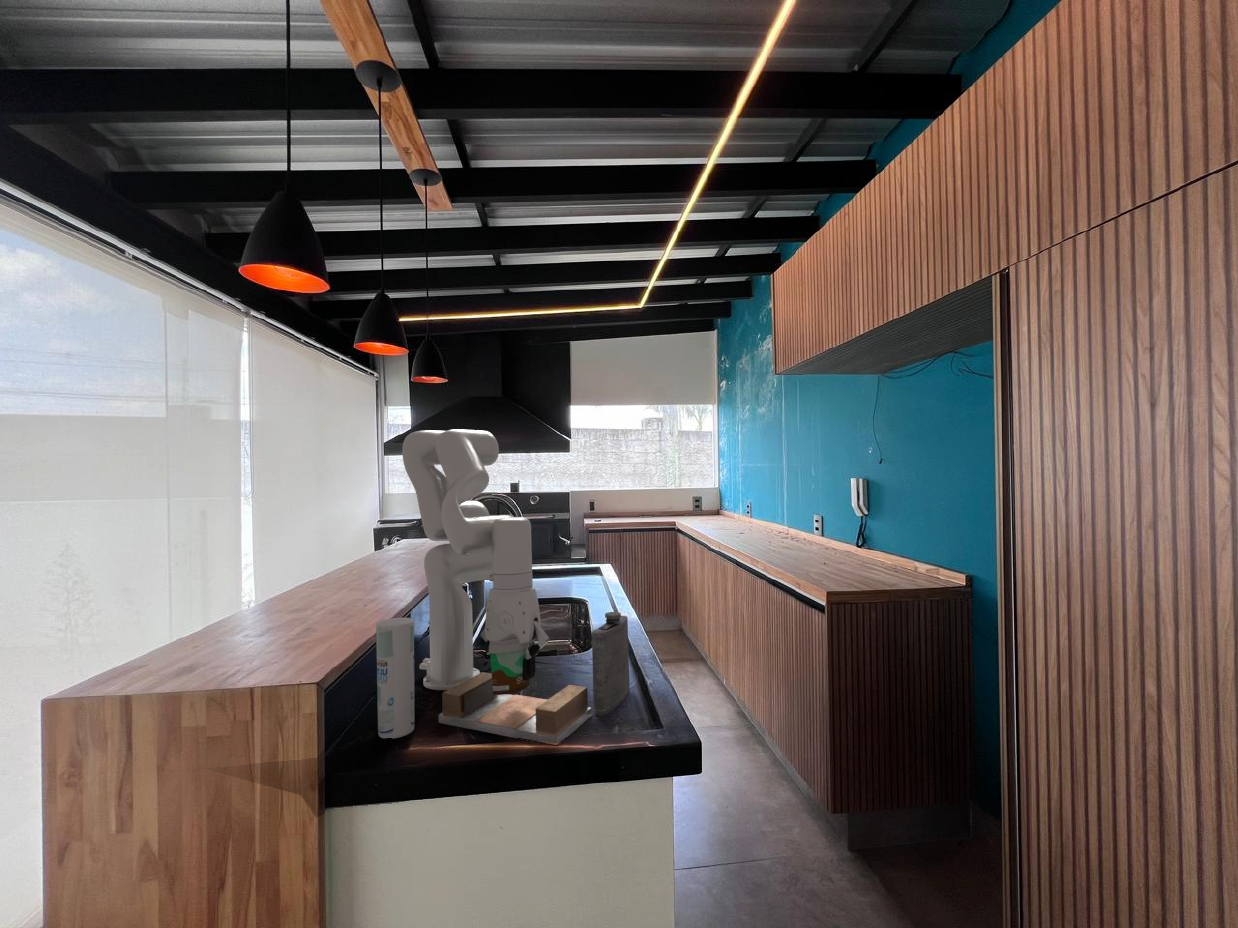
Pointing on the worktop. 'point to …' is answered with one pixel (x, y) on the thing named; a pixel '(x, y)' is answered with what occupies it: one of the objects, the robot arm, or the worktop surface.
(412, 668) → the spray can
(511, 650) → the food container
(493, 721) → the wooden u-shaped base
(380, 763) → the worktop surface
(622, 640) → the flask
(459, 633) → the robot arm
